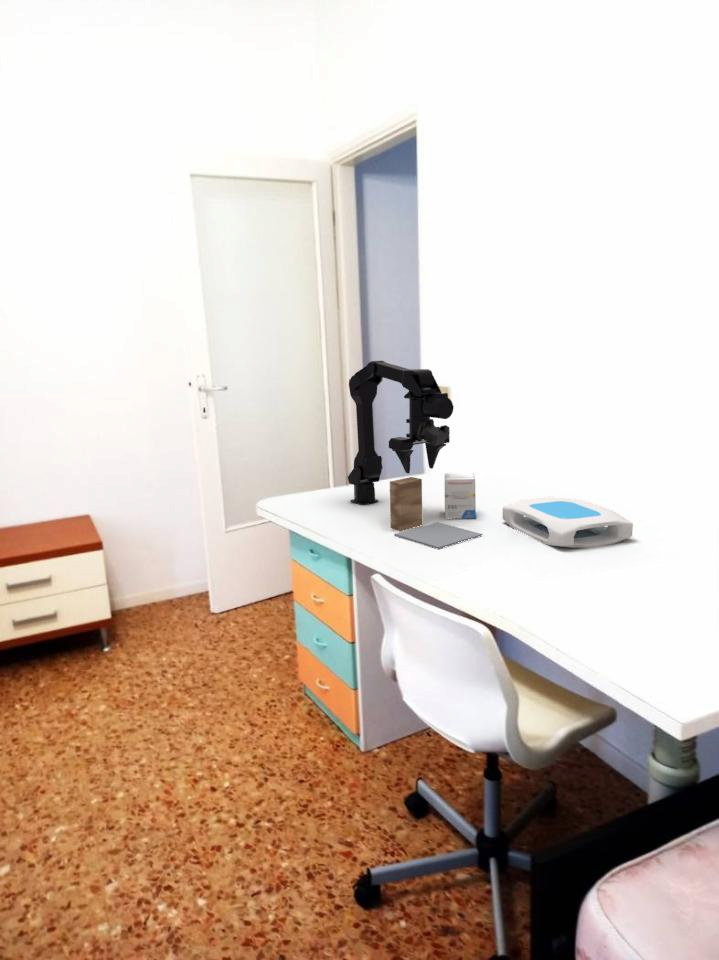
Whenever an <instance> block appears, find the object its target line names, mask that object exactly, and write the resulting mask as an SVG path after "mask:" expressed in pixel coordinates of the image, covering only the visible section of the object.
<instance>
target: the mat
mask: <svg viewBox="0 0 719 960" xmlns="http://www.w3.org/2000/svg"><path fill="white" fill-rule="evenodd" d="M481 535H483V533H481V532H477V531H472V530H469V529H465V528H461V527H458V526H455V525H449V524H448V523H447V524H446V523H442V522H438V521H437V522H434V523H430V524H426V525H422V526H419V527H415V528H411V529H408V530H404V531H399V532H398V533H397V532H396V533H394V536H395V537H397V538H401V539H404V540H407V541H411V542H413V541H414V543H417V544H420V545H423V544H424V546H426V545H427V547H430V546H432V547H431V548H433V547H435V548H434V549H436V548H438V549H437V550H441V549H444V548H443V547H445V546H448V547H450V546H449V545H451V546H453V545H452V544H454V545H456V544H455V543H458V542H461V541H464V540H467V541H469V540H468V539H471V538H474V537H477V538H479V537H478V536H480V537H482V536H481ZM483 536H484V535H483ZM474 539H475V538H474ZM471 540H472V539H471ZM464 542H465V541H464ZM461 543H462V542H461ZM458 544H459V543H458ZM440 548H441V549H440ZM445 548H446V547H445Z"/></svg>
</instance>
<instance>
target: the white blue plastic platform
mask: <svg viewBox="0 0 719 960" xmlns="http://www.w3.org/2000/svg"><path fill="white" fill-rule="evenodd" d="M502 520H503V521H504V522H505V523H507V524H508V525H509V526H510V527H511V528H512V529H513V528H514V530H515V529H516V530H515V531H517V530H518V531H517V532H519V531H520V532H519V533H521V532H522V533H521V534H523V533H524V534H523V535H525V534H526V536H527V535H528V537H529V536H530V538H531V537H532V539H533V540H535V541H537V542H540V543H542V544H544V545H545V546H553V547H554V546H555V547H561V548H562V547H563V548H569V549H570V548H571V549H589V548H596V547H603V546H611V545H615V544H618V543H620V542H621V541H624V540H626V539H629V538H631V537H633V527H634V524H633V522H632V521H630V520H628V519H627V518H625V517H624V516H622V515H621V514H619V513H617V512H616V511H614V510H613V509H610V508H607V507H605V506H602V505H598V504H597V503H596V504H595V503H593V502H590V501H587V500H583V499H576V498H567V497H555V496H542V497H541V496H540V497H534V498H524V499H519V500H517V501H515V502H513V503H512V502H511V503H509V504H507V505H505V506H502ZM536 525H543V526H545V527H546V528H547V531H548V533H547V532H545V531H543V530H541V529H539V528H537V527H535V526H536ZM583 530H586V531H588V532H589V531H590V532H591V533H594V534H596V535H589V536H583V537H575V535H576V533H577V531H583Z"/></svg>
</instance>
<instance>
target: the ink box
mask: <svg viewBox="0 0 719 960" xmlns="http://www.w3.org/2000/svg"><path fill="white" fill-rule="evenodd" d="M476 509H477V508H476V476H475V474H474V473H470V472H469V473H462V472H461V473H451V472H450V473H444V516H445V519H446V518H449V519H448V520H451V519H450V518H457V519H456V520H459V519H458V518H462V519H461V520H464V519H463V518H476V519H477V515H476Z"/></svg>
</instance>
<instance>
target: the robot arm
mask: <svg viewBox="0 0 719 960" xmlns="http://www.w3.org/2000/svg"><path fill="white" fill-rule="evenodd" d="M383 379H387V380H390V381H394V382H397V383H400V384H401V386H402V387H403V388H404V389H406V390H408V392H407V393H406V394H405V395H404V396H403V398H404V399H409V401H408V402H409V403H408V404H409V405H408V406H409V410H408V411H409V414H408V415H409V416H408V418H406V419H405V420H406V421H405V423H406V424H409V425H408V426H409V428H408V429H409V431H408V432H409V433H406V434H405V435H406V436H405V437H403V436H396V437H391V438H390V439H389V440H388V449H391V450H392V451H393V452H395V455H396V456H397V457H398V459H399V462H400V463H401V465H402V467H403V470H404V472H405V473H406V474H410V472H411V456H412V454H413V452H414V449H413V447H414V446H415V445H416V446H417V445H420V444H425V451H426V458H427V464H428V467H429V469H431V470H432V469H434V466H435V463H436V460H437V458H438V455H439V453H440V451H441V450H442V449H443V448H444V447H446V446H447V444H449V443H450V441H451V440H450V439H451V438H450V433H451V432H450V431H451V430H450V426H448V425H447V424H446V425H445V424H444V425H441V426H436V425H435V421H434V419H441V420H447V419H449V418H450V417H452V415H453V412H454V407H455V406H454V404H453V402H452V400H451V399H450V398H449V393H447V392H442V391H441V389H440V386H439V385H438V382H437V380H436V378H435V377H434V374H433V372H432V370H430V369H427V368H425V369H424V368H422V369H421V368H411V369H410V368H406V367H403V366H399V365H396V364H392V363H388V362H386V361H384V360H371V361H369V362H368V363H367V364H366V365H365V366H364V367H362V368H361V369H359V370H358V371H356V372H355V373H354V374H353V375H351V377H350V378H349V380H348V386H349V387H348V389H349V396H350V397H351V399H352V400H353V402H354V403H355V406H356V408H355V410H356V426H357V427H356V428H357V429H356V431H357V445H358V446H357V449H358V451H357V454H356V455H355V457H354V459H353V469H352V470H351V471H350V473H349V474H348V476H347V481H348V483H349V484H350V485H352V486H353V492H354V493H353V495H354V499H350V503H354V502H355V503H354V504H358V503H359V505H362V504H365V505H369V504H374V503H377V502H379V499H377V498H376V487H375V483H376V482H377V483H378V482H380V478H381V474H382V471H383V457H382V456H381V455H378V453H377V452H376V450H375V432H374V411H373V403H374V401H375V399H376V397H377V394H378V386H379V385H380V384H381V383H382V382H383ZM432 418H434V419H432ZM373 502H374V503H373ZM368 503H369V504H368Z"/></svg>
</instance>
